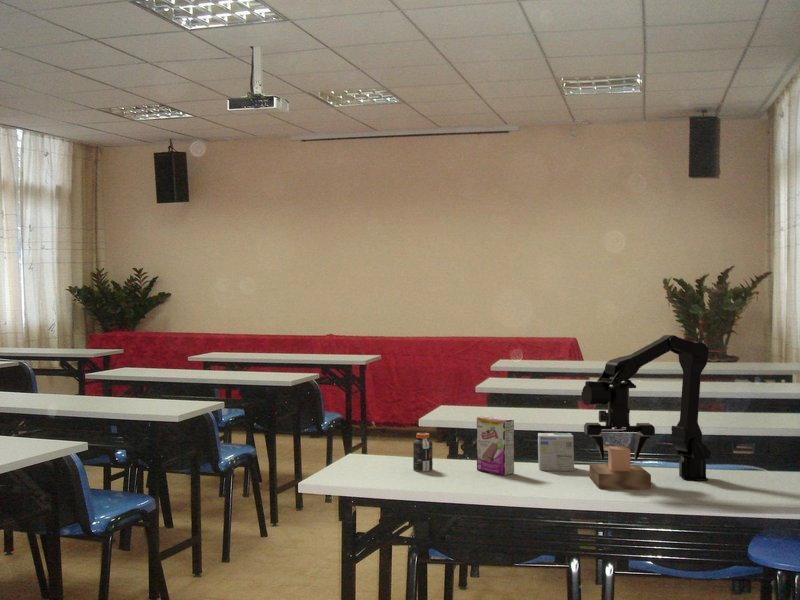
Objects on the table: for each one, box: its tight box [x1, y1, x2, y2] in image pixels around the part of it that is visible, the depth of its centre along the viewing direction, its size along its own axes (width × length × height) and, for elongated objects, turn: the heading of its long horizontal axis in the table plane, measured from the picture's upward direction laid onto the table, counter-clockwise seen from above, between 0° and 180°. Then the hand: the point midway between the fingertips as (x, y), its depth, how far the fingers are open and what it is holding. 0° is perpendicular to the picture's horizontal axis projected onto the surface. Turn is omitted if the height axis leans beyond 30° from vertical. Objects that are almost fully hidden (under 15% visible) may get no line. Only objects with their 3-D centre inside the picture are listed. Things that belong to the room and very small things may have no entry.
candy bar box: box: [476, 415, 515, 476], centre depth 235 cm, size 11×5×16 cm, turn 43°
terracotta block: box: [607, 445, 631, 471], centre depth 219 cm, size 5×5×6 cm
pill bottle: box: [412, 432, 434, 472], centre depth 238 cm, size 6×6×11 cm
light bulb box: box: [537, 432, 575, 472], centre depth 240 cm, size 11×7×11 cm, turn 84°
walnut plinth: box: [589, 463, 652, 490], centre depth 219 cm, size 14×14×4 cm
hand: (619, 459), depth 219 cm, fingers open, 9 cm apart
